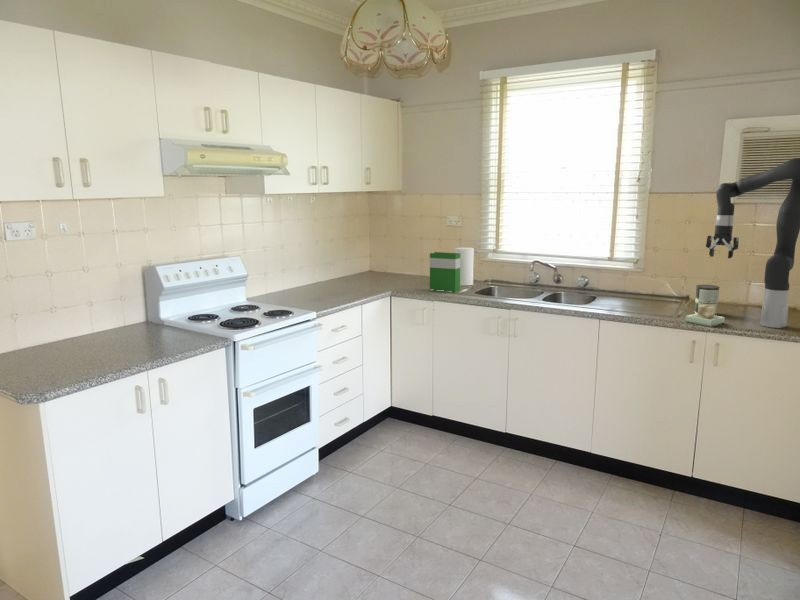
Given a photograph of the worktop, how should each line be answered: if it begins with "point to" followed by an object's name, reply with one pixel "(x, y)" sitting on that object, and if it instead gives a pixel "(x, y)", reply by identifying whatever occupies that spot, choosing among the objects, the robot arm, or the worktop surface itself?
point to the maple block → (706, 312)
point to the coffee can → (706, 296)
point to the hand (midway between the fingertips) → (720, 257)
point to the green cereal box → (445, 271)
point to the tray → (704, 320)
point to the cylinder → (466, 265)
